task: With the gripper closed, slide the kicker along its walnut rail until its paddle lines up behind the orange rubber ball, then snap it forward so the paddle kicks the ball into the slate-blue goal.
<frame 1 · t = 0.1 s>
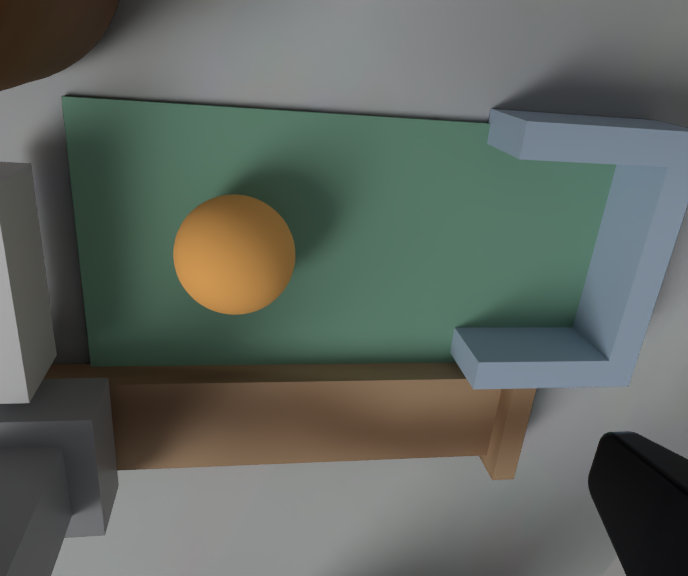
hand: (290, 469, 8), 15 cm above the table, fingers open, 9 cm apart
rail: (247, 403, 24), on the table
pitch mat: (367, 249, 22), on the table
goal: (538, 241, 23), on the table
ball: (236, 235, 21), resting on pitch mat
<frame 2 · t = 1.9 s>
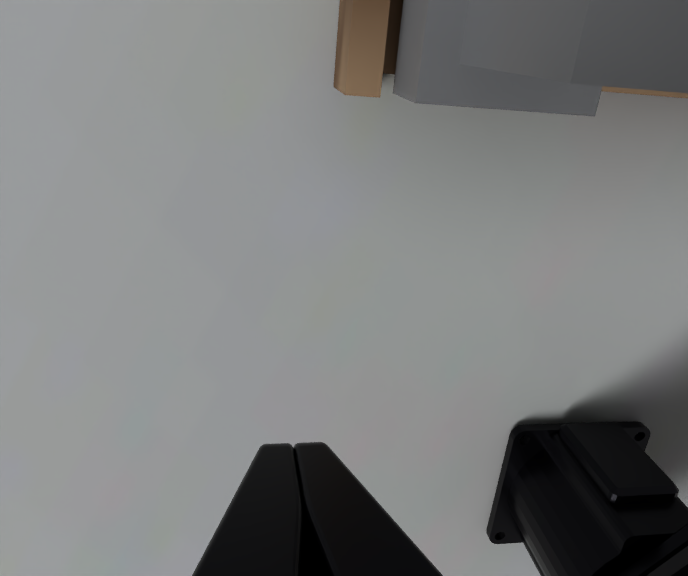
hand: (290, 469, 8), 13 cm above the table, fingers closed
rail: (680, 30, 19), on the table
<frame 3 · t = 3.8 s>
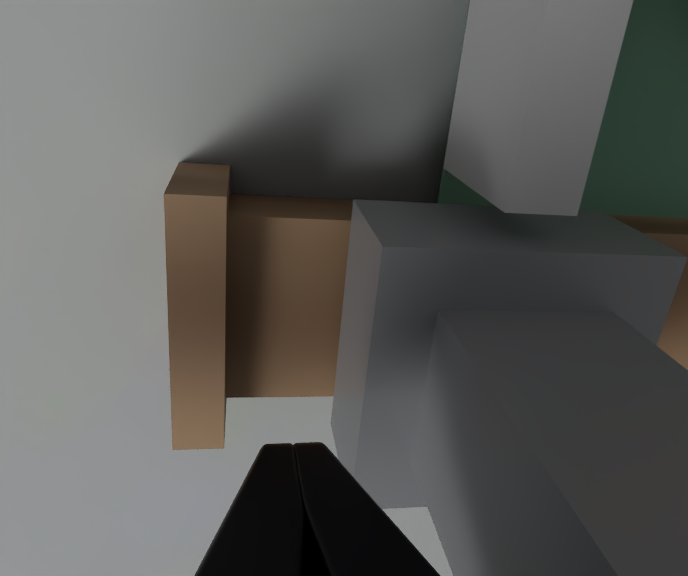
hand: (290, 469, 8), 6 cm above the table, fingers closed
rail: (651, 291, 15), on the table
kicker: (605, 189, 7), point 5 cm above the table, slide at 1.8 cm, touching gripper
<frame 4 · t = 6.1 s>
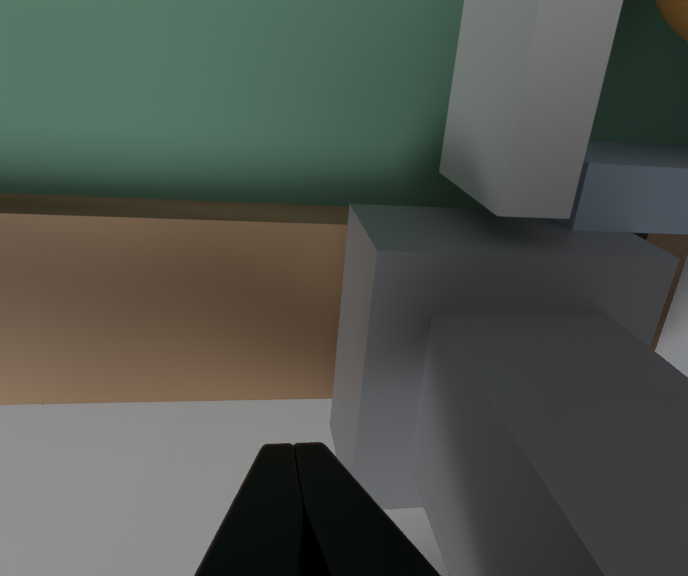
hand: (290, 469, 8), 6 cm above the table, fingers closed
rail: (113, 284, 13), on the table
kicker: (595, 193, 7), point 5 cm above the table, slide at 14.7 cm, touching goal, gripper
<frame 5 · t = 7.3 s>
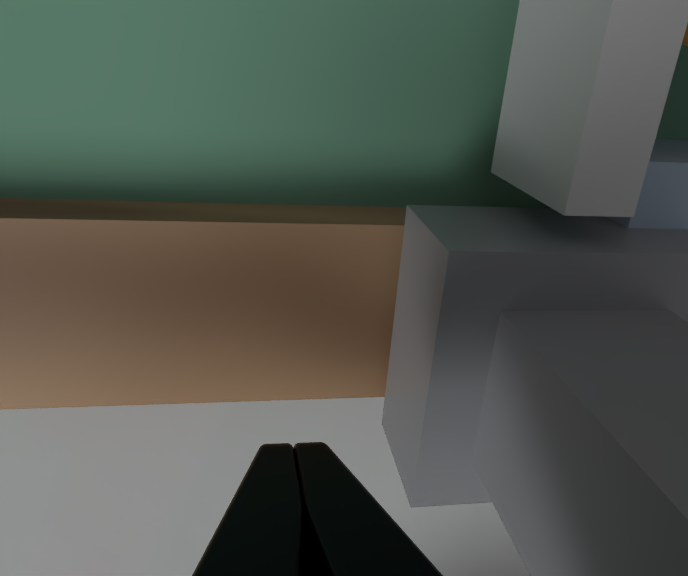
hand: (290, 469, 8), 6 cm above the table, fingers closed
rail: (165, 287, 13), on the table
kicker: (672, 192, 8), point 5 cm above the table, slide at 14.7 cm, touching goal
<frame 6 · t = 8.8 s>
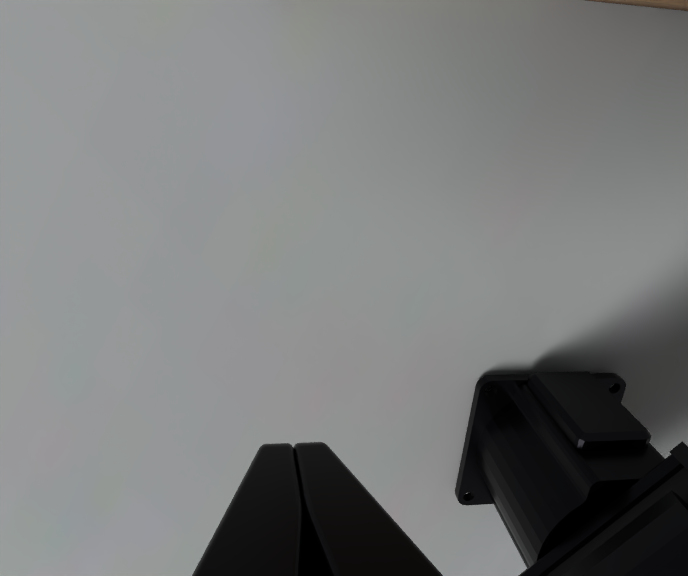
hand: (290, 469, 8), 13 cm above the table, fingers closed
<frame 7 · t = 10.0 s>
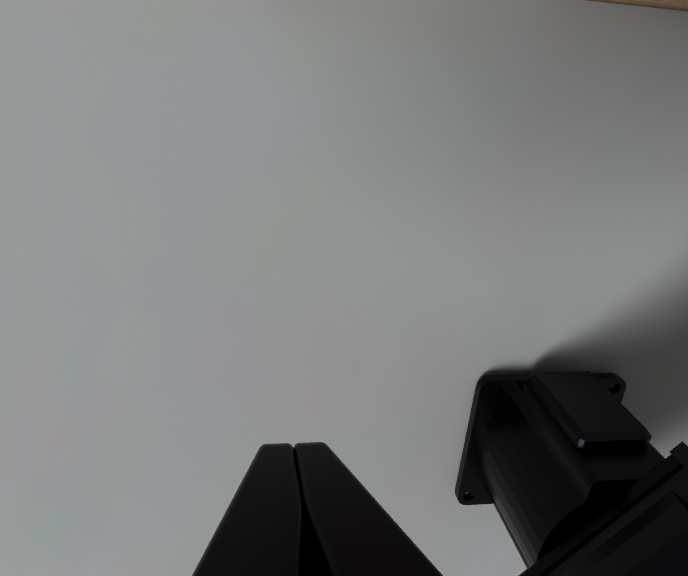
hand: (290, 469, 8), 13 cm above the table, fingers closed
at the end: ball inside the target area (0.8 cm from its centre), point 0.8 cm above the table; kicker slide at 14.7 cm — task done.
